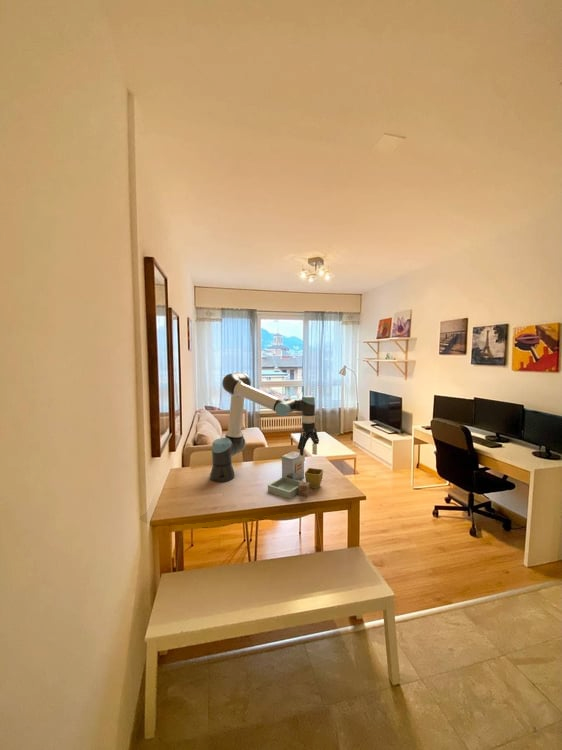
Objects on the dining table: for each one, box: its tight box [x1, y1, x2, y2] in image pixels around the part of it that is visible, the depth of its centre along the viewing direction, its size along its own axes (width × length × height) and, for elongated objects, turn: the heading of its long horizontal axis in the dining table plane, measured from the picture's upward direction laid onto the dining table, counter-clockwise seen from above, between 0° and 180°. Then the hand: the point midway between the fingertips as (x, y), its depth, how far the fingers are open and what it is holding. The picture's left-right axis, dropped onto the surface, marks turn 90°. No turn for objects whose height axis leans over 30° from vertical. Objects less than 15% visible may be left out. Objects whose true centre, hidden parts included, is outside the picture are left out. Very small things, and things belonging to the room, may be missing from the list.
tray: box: [267, 476, 302, 500], centre depth 171 cm, size 15×15×4 cm
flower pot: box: [304, 467, 324, 489], centre depth 175 cm, size 9×9×9 cm
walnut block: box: [298, 481, 311, 498], centre depth 165 cm, size 5×5×6 cm
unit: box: [280, 450, 305, 481], centre depth 186 cm, size 9×13×15 cm
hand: (308, 457), depth 181 cm, fingers open, 13 cm apart
